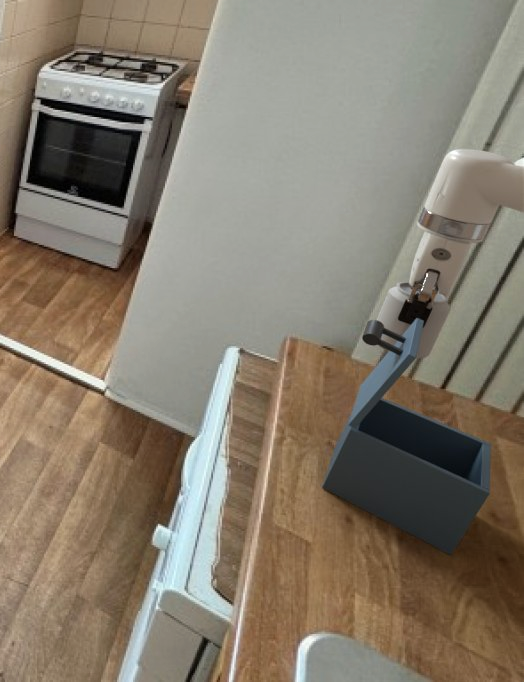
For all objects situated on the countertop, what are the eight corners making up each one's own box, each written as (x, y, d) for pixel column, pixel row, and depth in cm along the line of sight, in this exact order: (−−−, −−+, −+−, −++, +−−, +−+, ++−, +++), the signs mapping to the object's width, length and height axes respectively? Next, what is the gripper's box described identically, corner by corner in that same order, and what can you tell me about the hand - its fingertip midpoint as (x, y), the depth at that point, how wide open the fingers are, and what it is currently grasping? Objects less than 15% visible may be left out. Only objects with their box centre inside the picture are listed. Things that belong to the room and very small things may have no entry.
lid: (424, 320, 87) (379, 300, 90) (416, 357, 80) (368, 334, 83) (366, 388, 94) (327, 368, 97) (354, 428, 86) (312, 405, 89)
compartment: (455, 502, 89) (491, 443, 85) (450, 555, 82) (489, 493, 77) (335, 445, 98) (362, 389, 94) (321, 487, 91) (350, 429, 87)
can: (432, 351, 106) (459, 293, 102) (421, 368, 102) (449, 308, 98) (375, 329, 112) (398, 274, 107) (363, 344, 108) (386, 287, 103)
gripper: (485, 250, 90) (440, 346, 96) (487, 215, 101) (446, 304, 107) (415, 232, 95) (376, 324, 101) (424, 201, 106) (388, 286, 112)
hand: (412, 313), depth 104 cm, fingers closed on can, 7 cm apart
